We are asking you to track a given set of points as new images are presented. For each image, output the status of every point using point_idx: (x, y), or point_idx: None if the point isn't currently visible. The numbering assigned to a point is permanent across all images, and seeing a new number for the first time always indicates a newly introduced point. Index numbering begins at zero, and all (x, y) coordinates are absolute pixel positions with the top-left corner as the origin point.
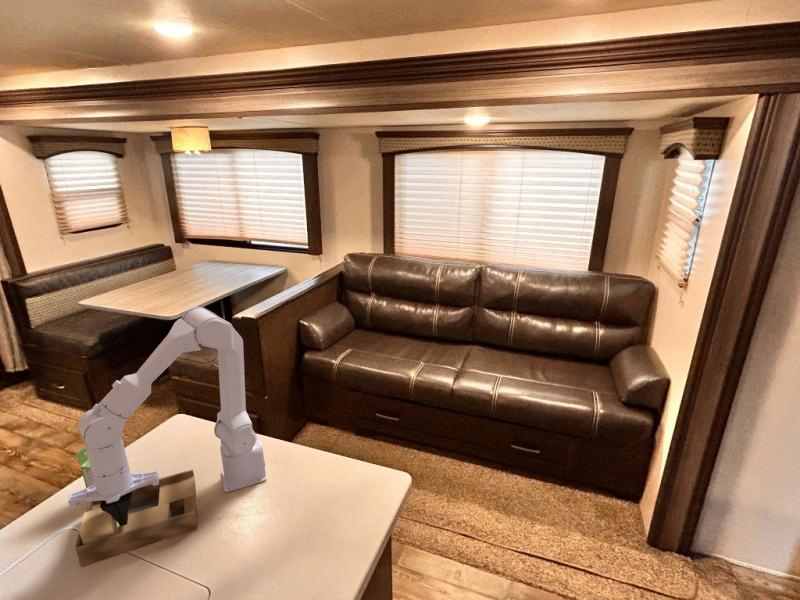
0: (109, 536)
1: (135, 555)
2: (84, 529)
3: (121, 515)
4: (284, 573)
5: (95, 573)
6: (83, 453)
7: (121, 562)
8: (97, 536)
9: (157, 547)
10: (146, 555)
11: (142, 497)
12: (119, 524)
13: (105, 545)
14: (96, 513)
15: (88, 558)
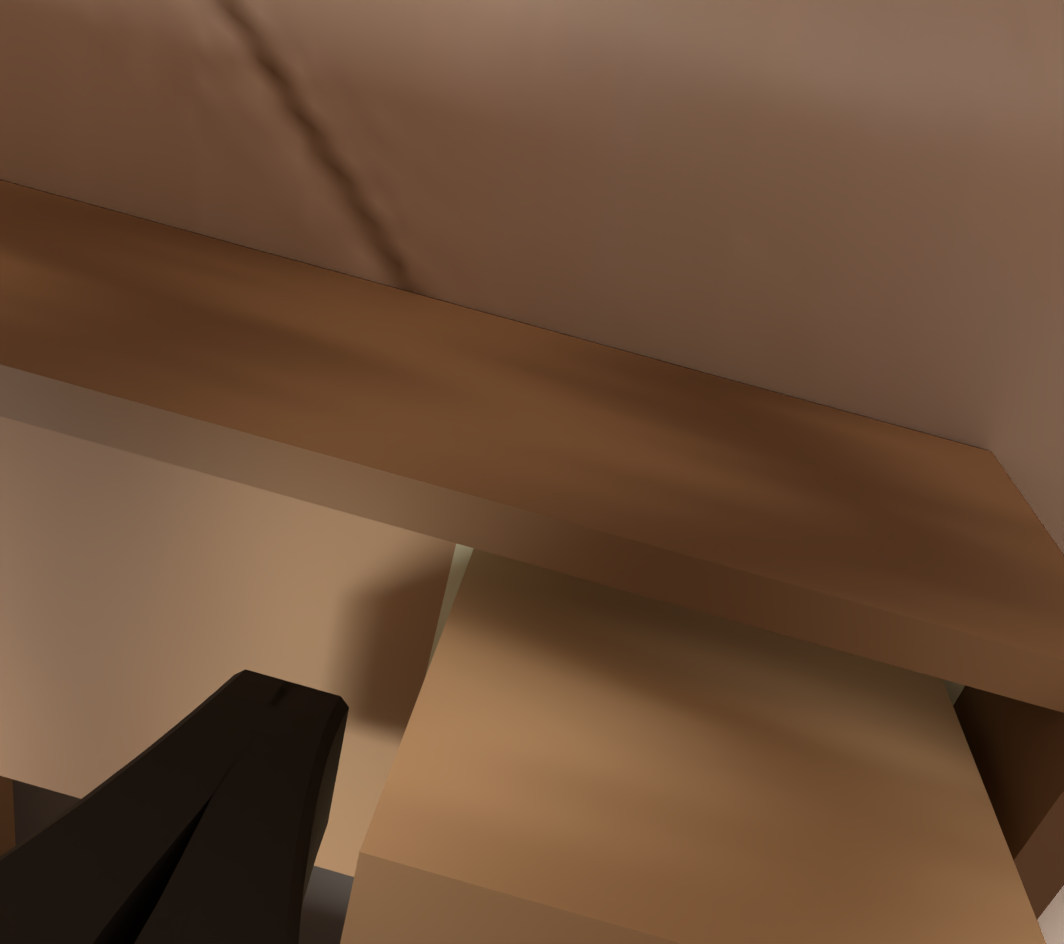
0: (537, 609)
1: (316, 144)
2: None
3: (117, 885)
4: None
5: (866, 188)
6: None
7: (509, 144)
8: (719, 717)
9: (17, 77)
10: (166, 19)
11: None
12: (321, 729)
13: (636, 472)
14: None
15: (904, 475)
